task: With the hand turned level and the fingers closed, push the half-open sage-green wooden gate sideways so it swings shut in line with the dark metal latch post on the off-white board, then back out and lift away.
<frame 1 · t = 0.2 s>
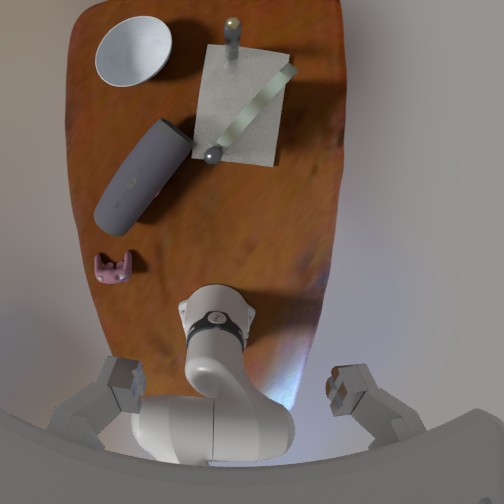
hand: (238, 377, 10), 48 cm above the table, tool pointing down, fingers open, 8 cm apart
chinaware: (143, 59, 41), on the table
bluetooth speaker: (148, 174, 52), on the table
gate: (253, 108, 40), point 9 cm above the table, hinge at 32.0°
video game controller: (116, 261, 59), on the table
gate frame: (240, 103, 47), on the table
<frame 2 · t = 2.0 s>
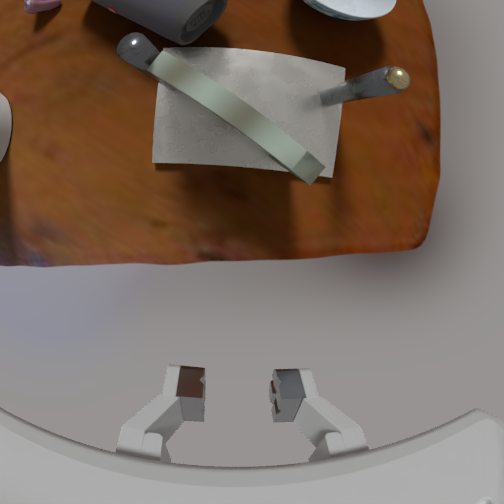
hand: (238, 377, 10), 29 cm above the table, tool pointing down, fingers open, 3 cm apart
bluetooth speaker: (149, 2, 23), on the table
gate: (235, 118, 24), point 9 cm above the table, hinge at 32.0°
gate frame: (249, 107, 32), on the table
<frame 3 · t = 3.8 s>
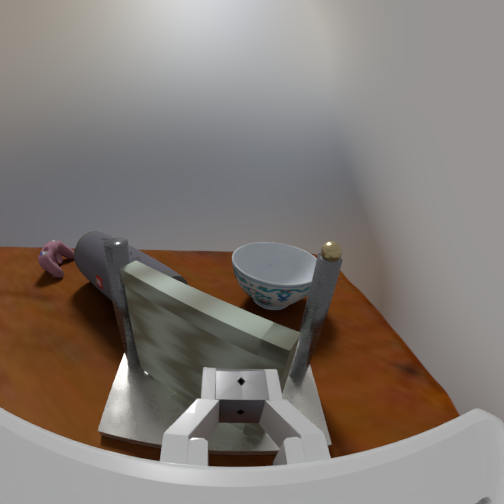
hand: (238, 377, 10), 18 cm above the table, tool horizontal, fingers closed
chinaware: (271, 299, 48), on the table
bluetooth speaker: (126, 302, 42), on the table
gate: (196, 359, 23), point 9 cm above the table, hinge at 32.0°
video game controller: (59, 268, 48), on the table
gate frame: (215, 395, 29), on the table
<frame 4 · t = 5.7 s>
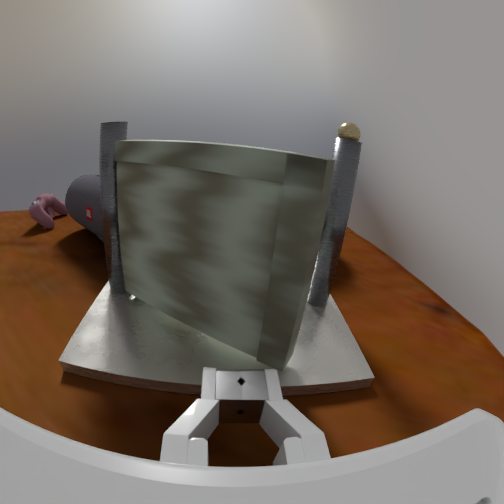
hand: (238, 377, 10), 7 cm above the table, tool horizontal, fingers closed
bluetooth speaker: (117, 244, 38), on the table
gate: (195, 243, 19), point 9 cm above the table, hinge at 32.0°
video game controller: (50, 222, 44), on the table
gate frame: (216, 325, 24), on the table
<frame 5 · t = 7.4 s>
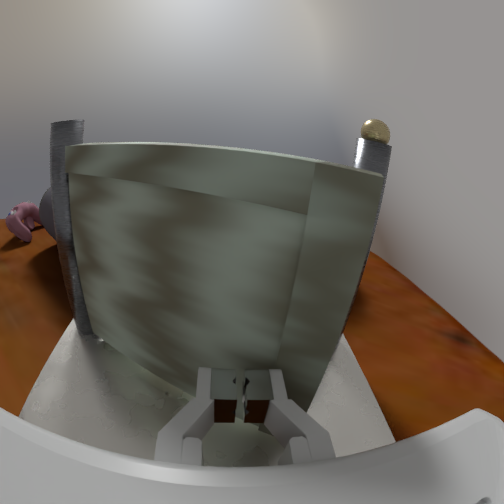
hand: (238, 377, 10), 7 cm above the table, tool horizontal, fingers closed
bluetooth speaker: (94, 263, 32), on the table
gate: (171, 288, 13), point 9 cm above the table, hinge at 29.5°, touching gripper
video game controller: (29, 234, 37), on the table
gate frame: (202, 377, 18), on the table
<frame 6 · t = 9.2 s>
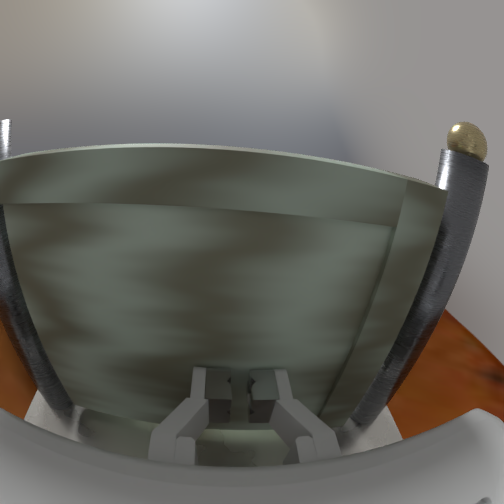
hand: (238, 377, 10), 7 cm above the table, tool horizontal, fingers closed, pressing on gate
gate: (202, 331, 10), point 9 cm above the table, hinge at 1.2°, touching gripper
gate frame: (209, 470, 11), on the table
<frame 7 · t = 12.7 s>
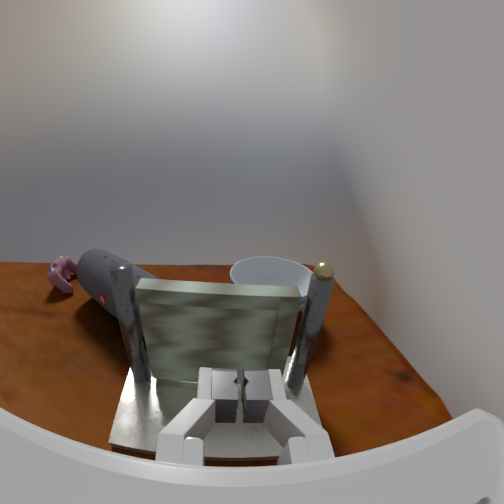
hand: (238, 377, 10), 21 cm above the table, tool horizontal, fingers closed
chinaware: (268, 312, 50), on the table
bluetooth speaker: (129, 317, 44), on the table
gate: (216, 340, 29), point 9 cm above the table, hinge at 0.5°
video game controller: (68, 284, 50), on the table
gate frame: (217, 405, 30), on the table
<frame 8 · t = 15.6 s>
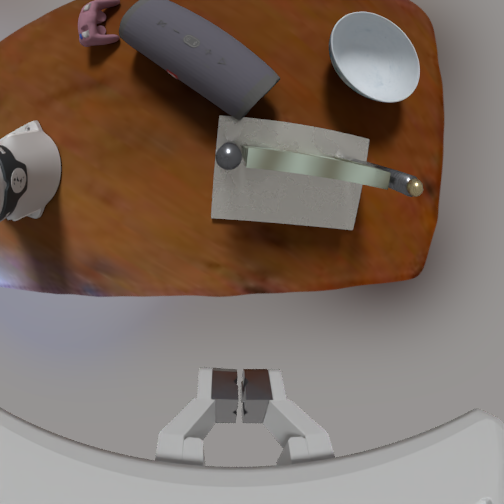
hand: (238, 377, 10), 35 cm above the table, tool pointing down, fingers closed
chinaware: (357, 64, 34), on the table
bluetooth speaker: (200, 61, 33), on the table
gate: (308, 161, 33), point 9 cm above the table, hinge at 0.5°
video game controller: (106, 25, 28), on the table
gate frame: (291, 173, 42), on the table
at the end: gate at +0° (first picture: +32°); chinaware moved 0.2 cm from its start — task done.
